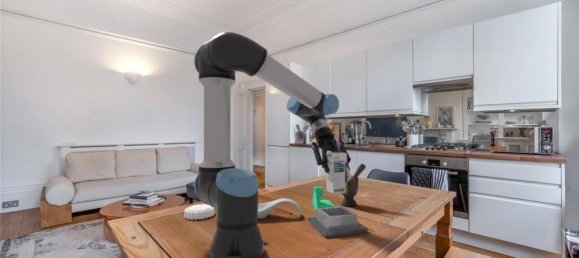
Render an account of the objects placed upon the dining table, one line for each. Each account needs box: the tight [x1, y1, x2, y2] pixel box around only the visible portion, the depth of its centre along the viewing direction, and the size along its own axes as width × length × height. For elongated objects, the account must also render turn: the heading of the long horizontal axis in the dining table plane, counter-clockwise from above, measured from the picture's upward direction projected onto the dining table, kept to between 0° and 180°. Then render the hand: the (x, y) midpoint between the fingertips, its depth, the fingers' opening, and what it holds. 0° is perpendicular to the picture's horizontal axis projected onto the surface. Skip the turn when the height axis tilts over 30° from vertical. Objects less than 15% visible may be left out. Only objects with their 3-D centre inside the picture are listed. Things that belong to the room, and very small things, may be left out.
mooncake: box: [183, 203, 216, 221], centre depth 107 cm, size 12×12×4 cm
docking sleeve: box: [307, 205, 369, 239], centre depth 93 cm, size 16×16×6 cm
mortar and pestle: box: [340, 163, 367, 207], centre depth 122 cm, size 12×9×20 cm
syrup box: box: [326, 151, 348, 195], centre depth 94 cm, size 6×6×14 cm
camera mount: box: [312, 186, 336, 212], centre depth 115 cm, size 12×8×10 cm, turn 5°
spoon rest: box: [258, 197, 302, 220], centre depth 105 cm, size 24×12×7 cm, turn 92°
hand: (341, 179), depth 90 cm, fingers closed on syrup box, 6 cm apart
